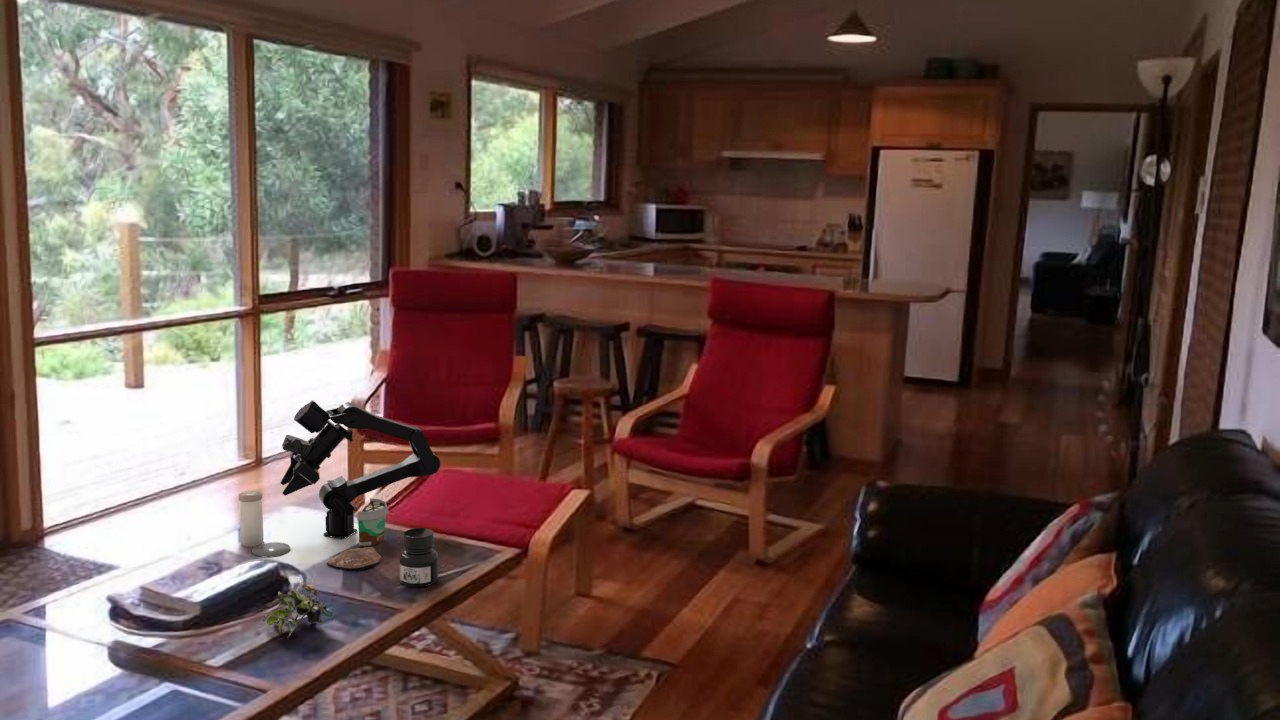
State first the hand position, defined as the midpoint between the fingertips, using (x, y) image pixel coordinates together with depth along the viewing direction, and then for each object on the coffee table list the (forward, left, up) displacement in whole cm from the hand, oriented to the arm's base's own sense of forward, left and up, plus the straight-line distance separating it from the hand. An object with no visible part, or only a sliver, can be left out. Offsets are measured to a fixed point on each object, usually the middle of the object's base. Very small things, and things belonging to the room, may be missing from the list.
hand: (282, 489), depth 267 cm
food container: (-23, -7, -14) cm, 28 cm away
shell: (-26, +7, -14) cm, 30 cm away
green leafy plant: (-36, +45, -14) cm, 59 cm away
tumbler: (+6, +5, -14) cm, 16 cm away
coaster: (-2, +8, -14) cm, 16 cm away
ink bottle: (-46, +12, -14) cm, 49 cm away
